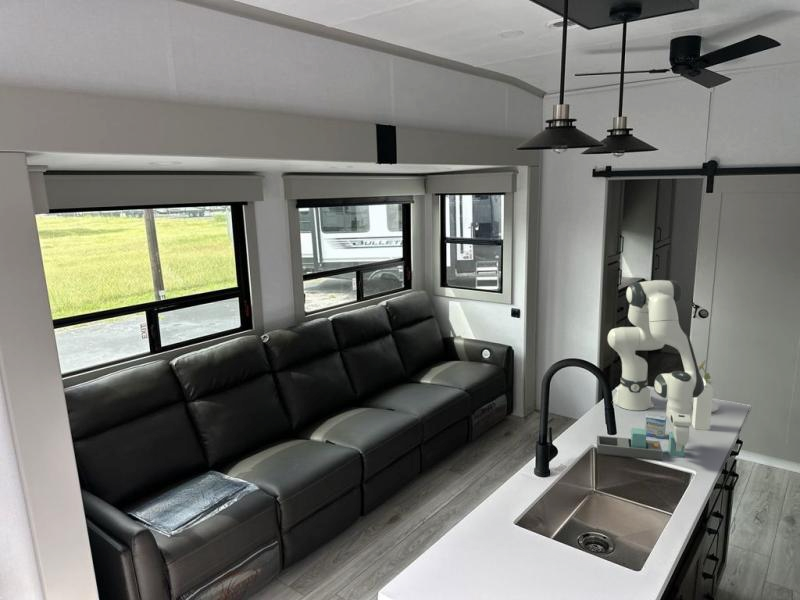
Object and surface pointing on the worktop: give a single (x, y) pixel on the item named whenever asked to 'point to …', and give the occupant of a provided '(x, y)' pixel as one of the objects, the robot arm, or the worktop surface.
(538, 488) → the worktop surface
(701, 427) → the milk
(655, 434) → the medicine box
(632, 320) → the robot arm
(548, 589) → the worktop surface
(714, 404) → the flower in vase
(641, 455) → the grey sink caddy
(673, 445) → the teal rectangular block
